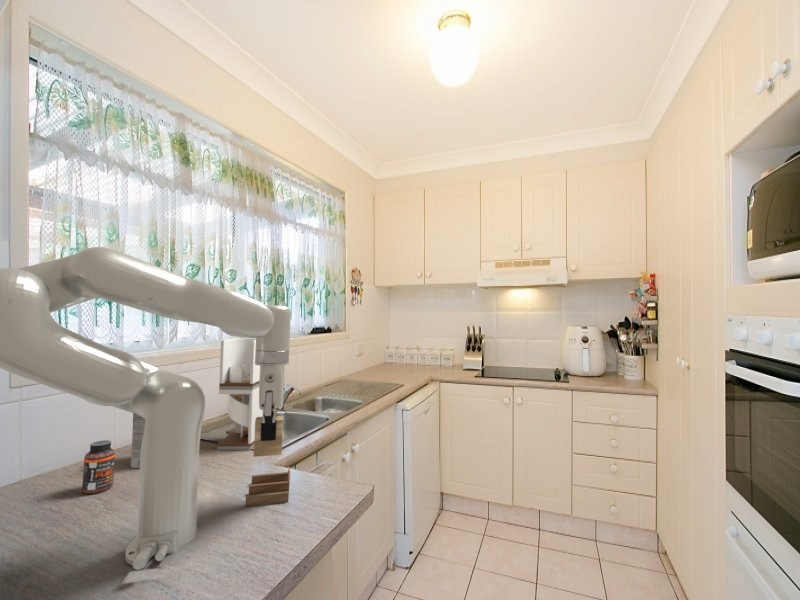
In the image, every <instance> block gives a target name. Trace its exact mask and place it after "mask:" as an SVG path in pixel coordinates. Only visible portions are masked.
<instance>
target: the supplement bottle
mask: <svg viewBox="0 0 800 600" xmlns="http://www.w3.org/2000/svg"><path fill="white" fill-rule="evenodd" d="M111 446H112V440H107V439H105V440H104V439H103V440H98V441H94V442H92V443H90V445H89V447H90V448H89V451H88V452H87V453H86V454H85V456H84V457H83V458H84V459H83V460H84V461H83V473H82V486H81V488H82V490H81V491H82V492H83V493H84V494H88V495H93V494H99V493H102V492H105V491H107V490H110V488H112V487H113V486H114V477H115V460H116V451H115V449H114V448H112V447H111Z"/></svg>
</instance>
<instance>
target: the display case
mask: <svg viewBox="0 0 800 600" xmlns="http://www.w3.org/2000/svg"><path fill="white" fill-rule="evenodd" d="M255 350H256V338H248V337H238V338H237V337H236V338H229V339H222V340H220V354H219V355H220V358H219V359H220V360H219V362H220V364H219V387H218V388H219V389H218V390H219V391H218V394H219V395H228V404H227V405H228V406H227V407H228V408H227V415H228V417H229V418H230V419H231V420H232V421H233V422H234V431H232V432H231V433H230V434H228V435H226V436H225V437H223V439H221V440H220V441H219V442H218V443H217V444H216V450H217V451H251V450H252V449H253V448H254V447H253V446H254V436H255V420H256V418H257V417H262V416H263V409H262V410H261V409H259V379H260V366H259V365H255ZM252 447H253V448H252ZM251 448H252V449H251Z"/></svg>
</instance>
